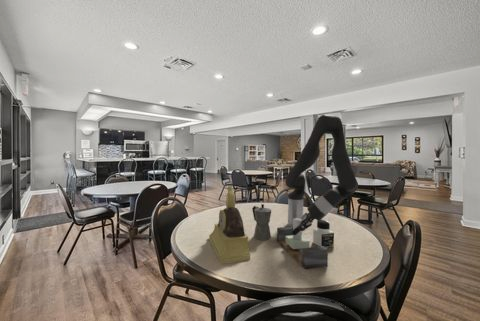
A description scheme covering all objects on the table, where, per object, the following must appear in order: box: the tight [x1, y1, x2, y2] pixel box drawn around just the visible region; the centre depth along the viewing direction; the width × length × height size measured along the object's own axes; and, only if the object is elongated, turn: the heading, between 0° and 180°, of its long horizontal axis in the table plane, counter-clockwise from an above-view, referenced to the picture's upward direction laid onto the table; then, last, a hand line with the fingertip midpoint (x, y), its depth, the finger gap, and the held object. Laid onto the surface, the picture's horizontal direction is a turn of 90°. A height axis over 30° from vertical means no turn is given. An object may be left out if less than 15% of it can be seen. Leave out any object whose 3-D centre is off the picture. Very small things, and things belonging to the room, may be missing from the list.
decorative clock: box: [208, 185, 251, 265], centre depth 103 cm, size 28×13×30 cm, turn 18°
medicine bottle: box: [312, 219, 335, 248], centre depth 107 cm, size 7×7×12 cm
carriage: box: [286, 218, 310, 249], centre depth 101 cm, size 8×8×12 cm
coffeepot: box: [251, 203, 272, 241], centre depth 118 cm, size 15×9×18 cm, turn 33°
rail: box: [276, 226, 329, 270], centre depth 99 cm, size 28×10×7 cm, turn 13°
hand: (293, 231), depth 101 cm, fingers closed on carriage, 4 cm apart
